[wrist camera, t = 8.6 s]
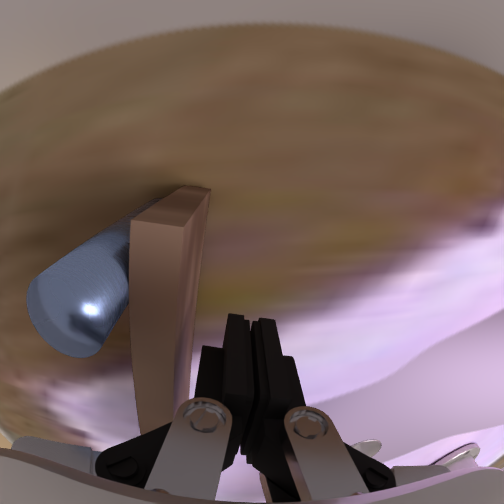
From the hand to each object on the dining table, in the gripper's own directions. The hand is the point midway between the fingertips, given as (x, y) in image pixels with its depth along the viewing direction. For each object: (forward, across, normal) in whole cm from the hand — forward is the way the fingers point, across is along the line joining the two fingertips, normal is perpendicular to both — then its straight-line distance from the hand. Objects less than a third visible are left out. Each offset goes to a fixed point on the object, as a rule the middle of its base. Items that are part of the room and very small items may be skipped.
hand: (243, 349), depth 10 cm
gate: (+4, +3, +4) cm, 6 cm away
